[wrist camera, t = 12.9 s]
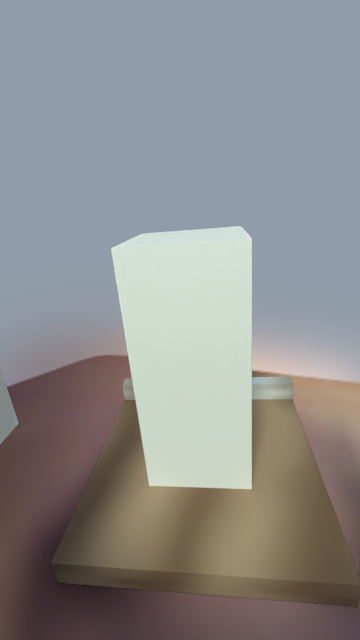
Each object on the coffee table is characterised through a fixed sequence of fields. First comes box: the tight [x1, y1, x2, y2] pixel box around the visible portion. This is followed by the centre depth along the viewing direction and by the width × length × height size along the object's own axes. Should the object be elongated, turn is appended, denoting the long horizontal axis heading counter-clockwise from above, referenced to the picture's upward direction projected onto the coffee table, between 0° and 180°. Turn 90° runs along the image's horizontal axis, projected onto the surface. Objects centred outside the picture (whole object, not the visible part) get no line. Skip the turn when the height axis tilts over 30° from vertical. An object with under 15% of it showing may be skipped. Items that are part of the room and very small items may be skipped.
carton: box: [111, 226, 252, 489], centre depth 18 cm, size 6×6×14 cm
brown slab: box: [51, 377, 360, 607], centre depth 20 cm, size 14×14×3 cm
